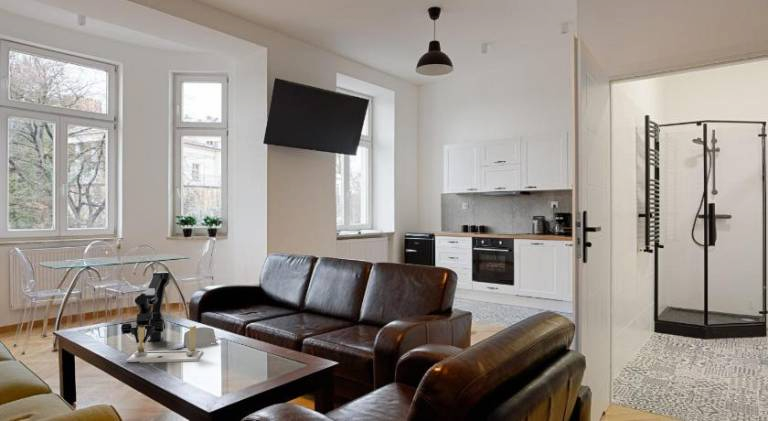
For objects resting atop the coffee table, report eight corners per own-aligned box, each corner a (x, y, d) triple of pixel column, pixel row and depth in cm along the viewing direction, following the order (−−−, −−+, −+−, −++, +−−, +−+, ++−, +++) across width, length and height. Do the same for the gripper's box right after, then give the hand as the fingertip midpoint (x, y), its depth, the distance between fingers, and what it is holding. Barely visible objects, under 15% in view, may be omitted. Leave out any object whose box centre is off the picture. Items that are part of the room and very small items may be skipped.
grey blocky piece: (185, 348, 245) (184, 329, 248) (183, 348, 249) (182, 330, 251) (217, 343, 255) (215, 325, 258) (214, 344, 259) (213, 326, 262)
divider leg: (137, 352, 230) (138, 325, 230) (147, 352, 231) (147, 325, 231) (132, 357, 224) (133, 329, 224) (142, 356, 224) (143, 329, 224)
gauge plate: (136, 353, 234) (137, 324, 234) (202, 352, 239) (203, 323, 239) (125, 362, 220) (126, 331, 220) (196, 361, 225) (197, 330, 225)
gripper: (122, 307, 229) (117, 335, 219) (163, 305, 235) (160, 333, 225) (124, 319, 236) (120, 347, 226) (165, 317, 243) (162, 344, 232)
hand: (140, 342), depth 227 cm, fingers closed on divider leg, 3 cm apart
